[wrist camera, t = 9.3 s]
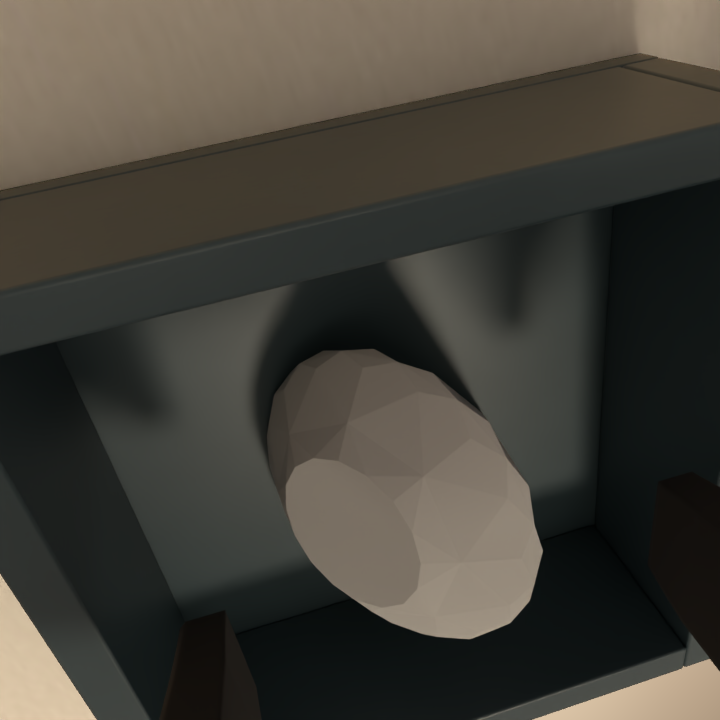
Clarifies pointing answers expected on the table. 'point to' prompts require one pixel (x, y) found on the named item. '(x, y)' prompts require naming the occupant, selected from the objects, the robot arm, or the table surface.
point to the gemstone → (403, 494)
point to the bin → (388, 336)
